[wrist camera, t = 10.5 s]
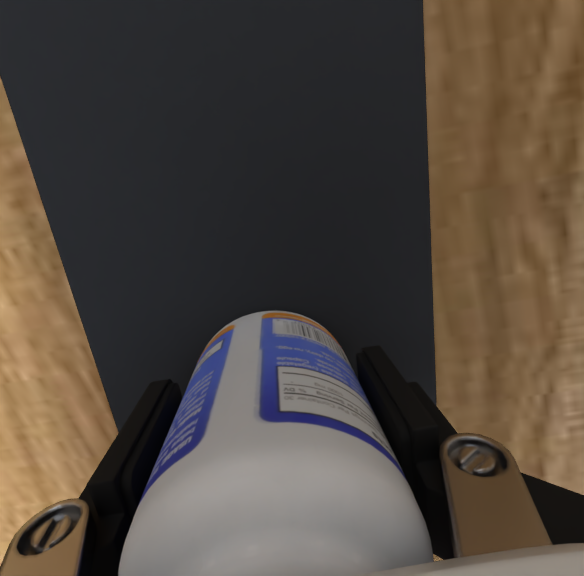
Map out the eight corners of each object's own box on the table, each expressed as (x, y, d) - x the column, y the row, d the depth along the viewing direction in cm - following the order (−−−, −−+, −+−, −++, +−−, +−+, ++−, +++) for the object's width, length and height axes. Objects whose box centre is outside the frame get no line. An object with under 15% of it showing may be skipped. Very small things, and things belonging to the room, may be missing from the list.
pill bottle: (231, 457, 13) (144, 1070, 4) (172, 335, 12) (-179, 859, 3) (364, 411, 13) (595, 940, 4) (322, 283, 12) (528, 639, 2)
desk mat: (-40, -71, 9) (-53, -82, 9) (412, -129, 9) (418, -143, 9) (153, 521, 14) (150, 530, 14) (435, 473, 15) (439, 480, 14)
